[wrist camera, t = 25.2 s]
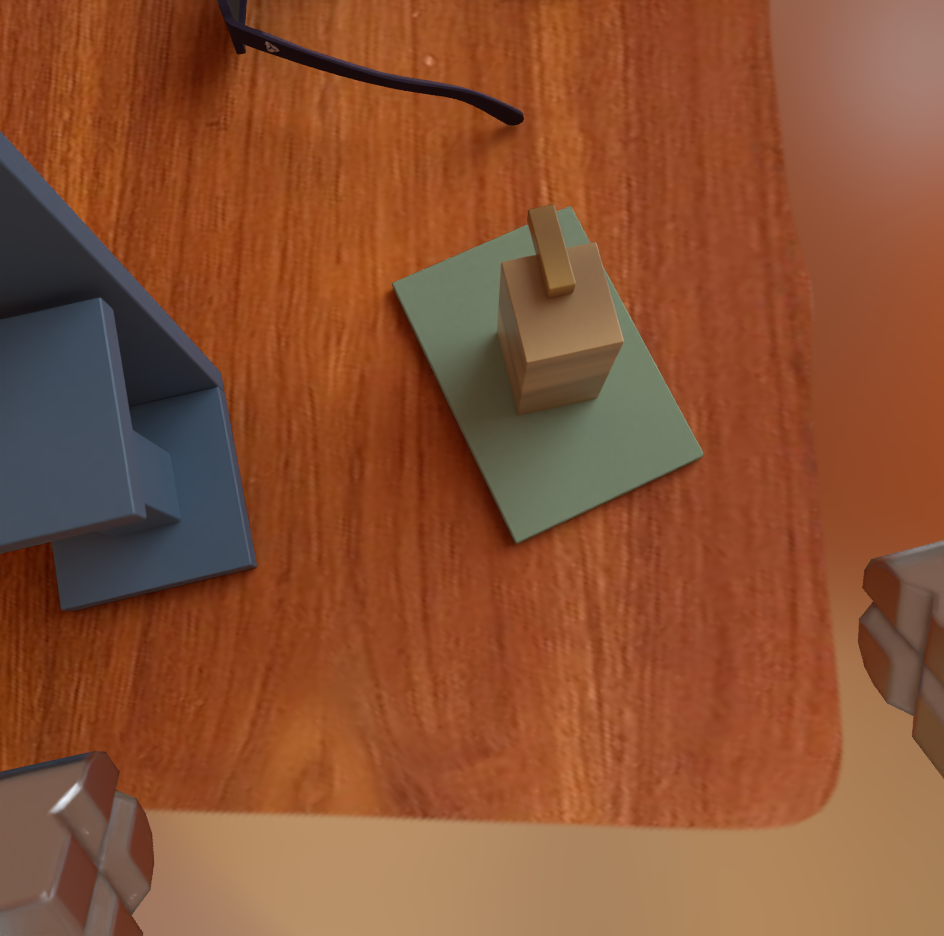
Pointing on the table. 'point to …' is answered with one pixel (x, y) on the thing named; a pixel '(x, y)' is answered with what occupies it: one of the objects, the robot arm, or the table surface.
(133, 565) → the bracket
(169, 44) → the table surface
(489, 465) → the mat
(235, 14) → the sunglasses
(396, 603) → the table surface
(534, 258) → the tan block with peg
